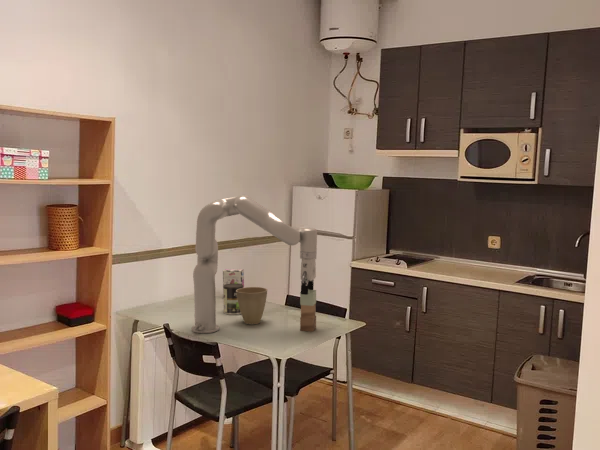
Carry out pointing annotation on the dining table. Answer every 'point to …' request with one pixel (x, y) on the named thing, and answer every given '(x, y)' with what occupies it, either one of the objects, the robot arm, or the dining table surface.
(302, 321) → the tower base block
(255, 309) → the plant pot
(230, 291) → the coffee can
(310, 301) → the sage block
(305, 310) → the tower block
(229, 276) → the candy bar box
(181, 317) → the dining table surface
